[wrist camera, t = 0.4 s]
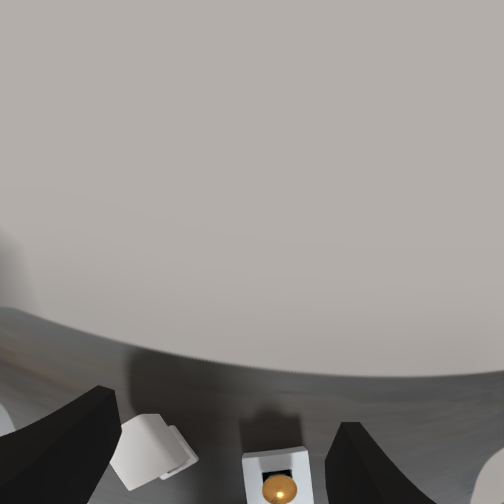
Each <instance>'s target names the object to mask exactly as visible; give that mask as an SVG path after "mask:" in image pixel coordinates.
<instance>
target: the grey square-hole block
mask: <svg viewBox="0 0 504 504" xmlns="http://www.w3.org/2000/svg"><path fill="white" fill-rule="evenodd" d="M242 465H243V473H244V481H245V489H246V496H247V504H270V503H269V502H267V501H266V500H265V499H264V497H263V495H262V487H263V484H264V481H263V473H262V472H271V471H280V470H287V469H290V478H292V479H293V480H294V481H295V483H296V486H297V495H296V497H295V498H294V499H293V500H292V501H291V502H289V503H287V504H314V503H313V494H312V484H311V475H310V467H309V458H308V450H307V449H306V448H304V447H303V446H299V447H293V448H286V449H278V450H270V451H261V452H251V453H244V454H243V457H242Z"/></svg>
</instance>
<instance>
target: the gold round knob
mask: <svg viewBox="0 0 504 504" xmlns="http://www.w3.org/2000/svg"><path fill="white" fill-rule="evenodd" d="M262 495H263V497H264V499H265V500H266V501H267V502H269V503H270V504H287V503H289V502H291V501H292V500H293V499H294V498H295V497H296V495H297V486H296V483H295V481H294V480H293V479H292V478H290V477H289V476H287V475H286V474H285V473H283V472H274V473H272V474H270V475H269V476H268V478H267V480H266V481H265V482H264V484H263V487H262Z"/></svg>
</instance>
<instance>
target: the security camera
mask: <svg viewBox="0 0 504 504" xmlns="http://www.w3.org/2000/svg"><path fill="white" fill-rule="evenodd" d="M121 427H122V434H121V437H120V440H119V442H118V445H117V448H116V450H115V453H114V455H113V457H112V459H111V461H110V464H111V465H112V467H113V468H114V470H115V471H116V473H117V474H118V476H119V477H120V479H121V480H122V482H123V483H124V484H125V486H126V487H127V489H128V490H129V491H130V490H133V489H135V488H137V487H139V486H141V485H143V484H145V483H147V482H149V481H151V480H153V479H155V478H157V477H160V478H161V479H162V480H164V479H166V478H168V477H170V476H172V475H174V474H176V473H178V472H179V471H181V470H183V469H185V468H187V467H189V466H190V465H192V464H194V463H196V462H197V461H198V460H199V458H198V456H197V455H196V454H195V453H194V451H193V450H192V449H191V447H190V446H189V445H188V443H187V442H186V441H185V439H184V438H183V436H182V435H181V434H180V432H179V431H178V429H177V428H176V427H175V426H174V425H171V426H167V425H166V423H165V422H164V420H163V419H162V417H161V416H160V414H141V415H138V416H136V417H134V418H133V419H131V420H129V421H128V422H126V423H124V424H122V425H121Z"/></svg>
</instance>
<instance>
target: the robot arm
mask: <svg viewBox="0 0 504 504" xmlns="http://www.w3.org/2000/svg"><path fill="white" fill-rule="evenodd" d="M121 434H122V427H121V422H120V417H119V412H118V407H117V402H116V396H115V390H112V389H109V388H106V387H103V386H99V385H98V386H96V387H95V388H93V389H91V390H90V391H88V392H86V393H85V394H83V395H82V396H80V397H78V398H77V399H75V400H74V401H72V402H70V403H69V404H67V405H65V406H64V407H62V408H60V409H59V410H57V411H55V412H53V413H52V414H50V415H48V416H46V417H44V418H42V419H40V420H38V421H36V422H34V423H32V424H30V425H28V426H26V427H24V428H22V429H20V430H17V431H15V432H12V433H9V434H7V435H4V436H1V437H0V504H87V503H88V501H89V499H90V497H91V495H92V493H93V492H94V490H95V488H96V486H97V484H98V483H99V481H100V479H101V477H102V475H103V474H104V472H105V470H106V468H107V466H108V464H109V463H110V461H111V459H112V457H113V455H114V453H115V450H116V448H117V445H118V442H119V440H120V437H121ZM325 479H326V490H327V495H328V501H329V504H436V503H435V502H434V501H432V500H431V499H430V498H428V497H427V496H426V495H425V494H424V493H422V492H421V491H420V490H419V489H418V488H417V487H416V486H415V485H414V484H413V483H412V482H411V481H410V480H409V479H408V478H407V477H406V476H405V475H404V474H403V473H402V472H401V471H400V470H399V469H398V468H397V467H396V466H395V465H394V463H393V462H392V461H391V460H390V459H389V458H388V457H387V455H386V454H385V453H384V452H383V451H382V449H381V448H380V447H379V446H378V445H377V443H376V442H375V441H374V440H373V438H372V437H371V436H370V435H369V433H368V432H367V431H366V430H365V428H364V427H363V426H362V425H361V423H360V422H341V424H340V427H339V429H338V432H337V434H336V436H335V439H334V441H333V443H332V446H331V448H330V450H329V452H328V455H327V457H326V459H325Z"/></svg>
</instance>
